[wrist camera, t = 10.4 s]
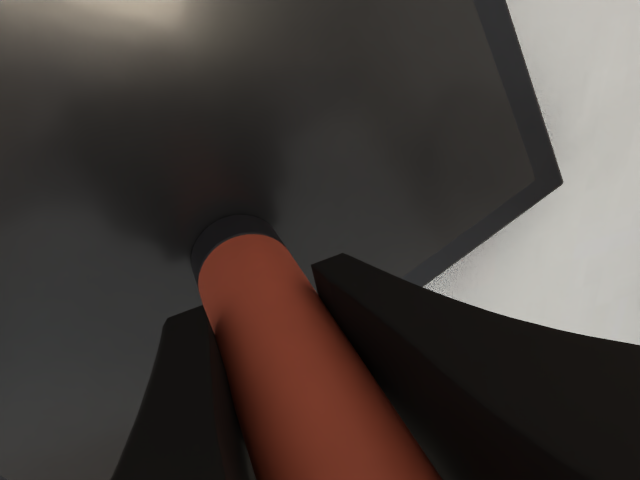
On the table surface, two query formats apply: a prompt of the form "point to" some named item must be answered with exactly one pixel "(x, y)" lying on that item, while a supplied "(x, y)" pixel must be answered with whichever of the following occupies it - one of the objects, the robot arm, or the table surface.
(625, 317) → the table surface
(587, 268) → the table surface
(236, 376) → the stylus
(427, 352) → the robot arm
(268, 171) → the tablet
